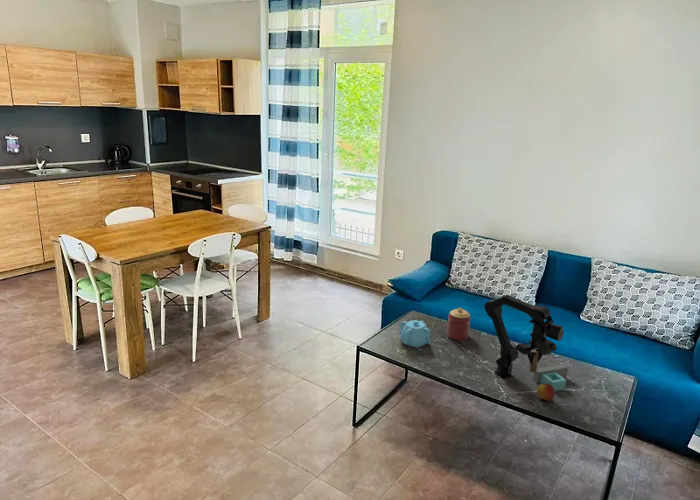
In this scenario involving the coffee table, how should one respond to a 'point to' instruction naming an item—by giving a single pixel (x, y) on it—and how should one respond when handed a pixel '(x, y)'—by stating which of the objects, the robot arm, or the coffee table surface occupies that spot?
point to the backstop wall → (558, 369)
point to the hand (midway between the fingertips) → (533, 363)
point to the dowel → (534, 362)
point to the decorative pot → (415, 333)
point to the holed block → (553, 380)
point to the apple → (545, 392)
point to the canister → (458, 324)
